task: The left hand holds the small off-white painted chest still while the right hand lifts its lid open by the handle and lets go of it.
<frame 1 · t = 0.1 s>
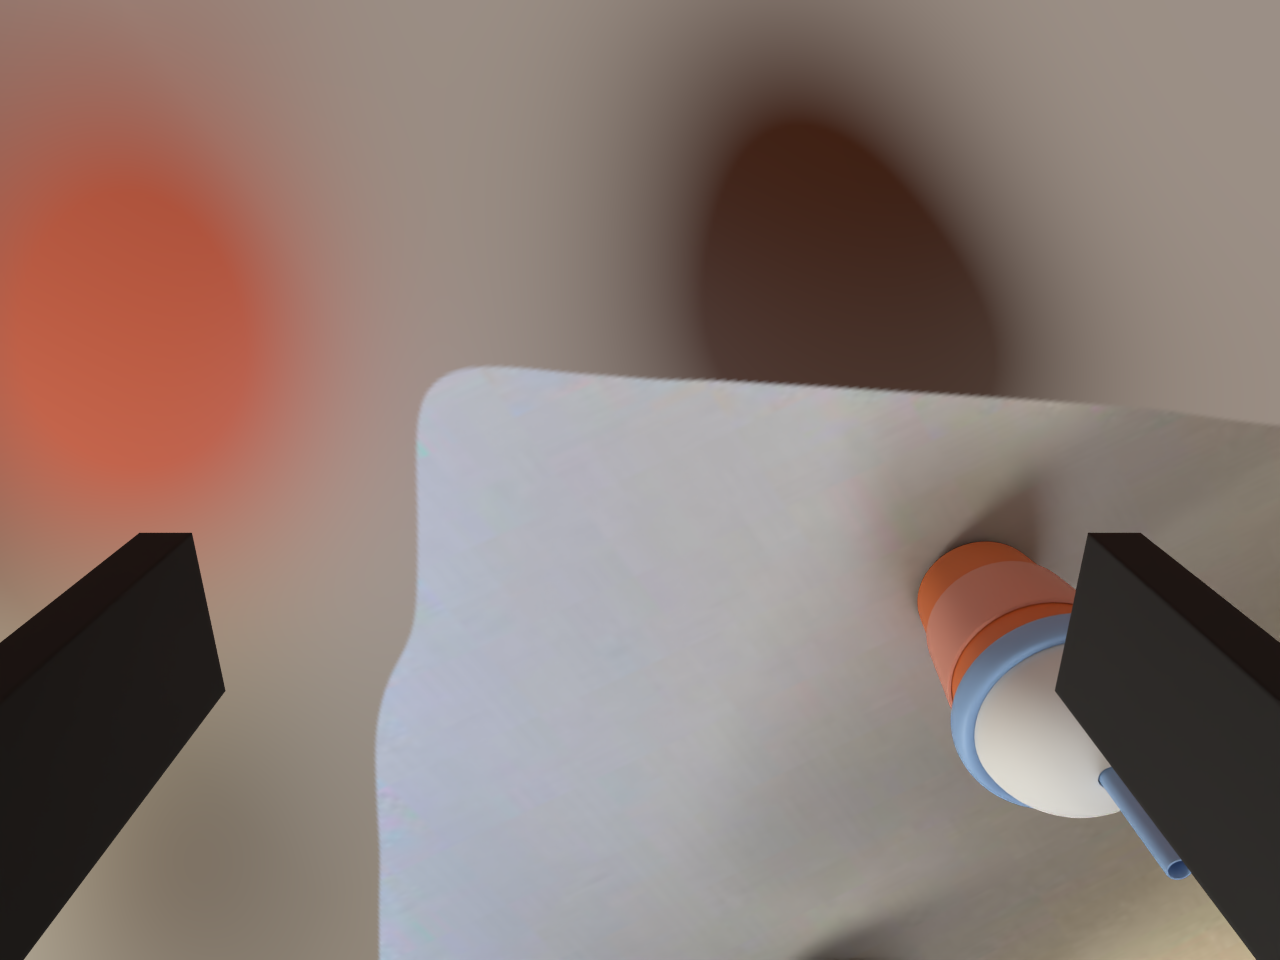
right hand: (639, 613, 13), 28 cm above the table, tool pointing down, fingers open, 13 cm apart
cup with straw: (974, 591, 45), on the table
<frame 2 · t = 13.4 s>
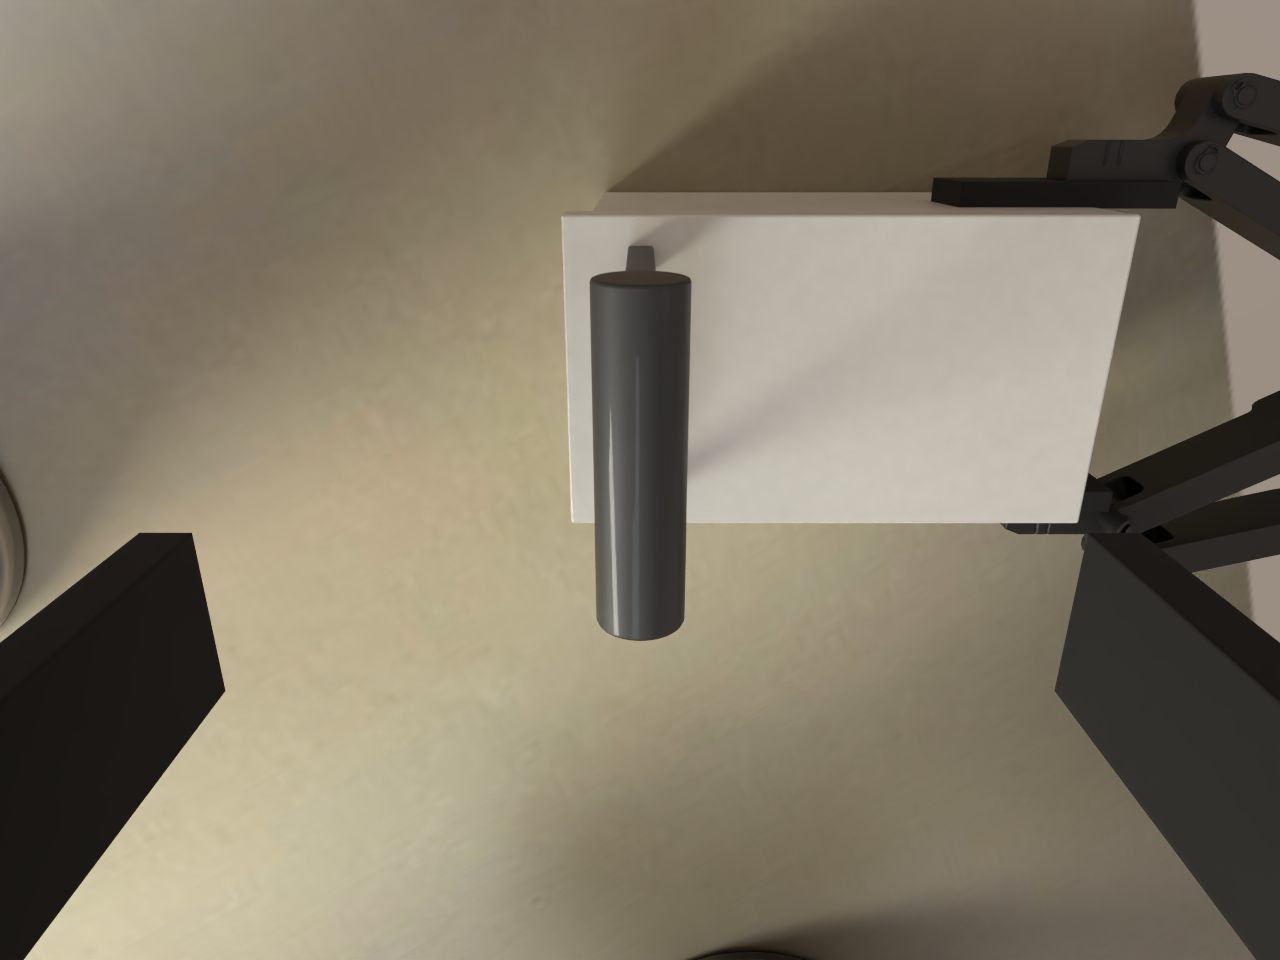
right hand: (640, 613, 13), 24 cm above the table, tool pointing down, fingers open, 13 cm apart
lid: (864, 413, 22), point 14 cm above the table, hinge at 0.0°
chest: (792, 312, 35), on the table, touching left hand
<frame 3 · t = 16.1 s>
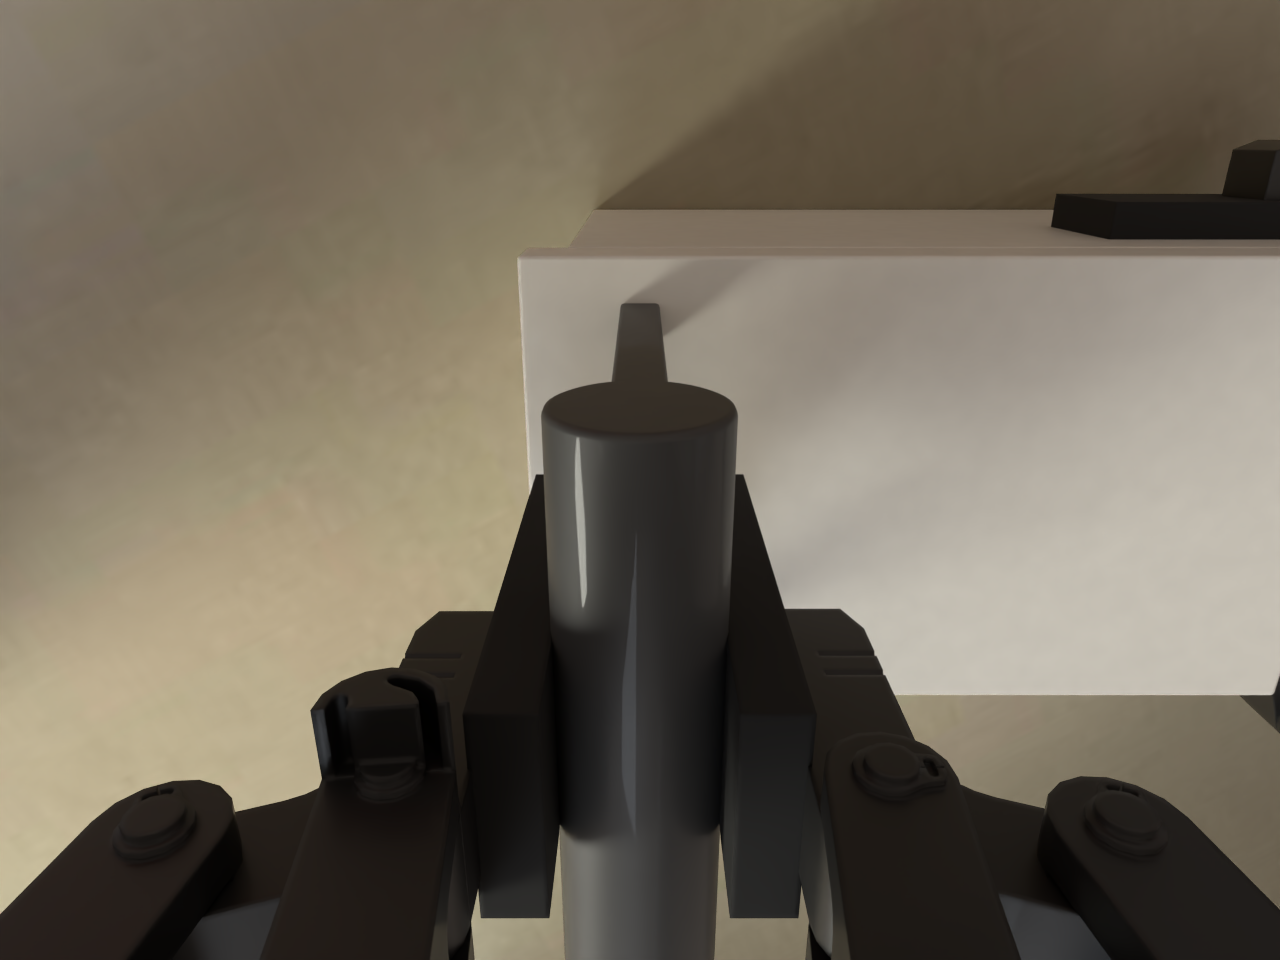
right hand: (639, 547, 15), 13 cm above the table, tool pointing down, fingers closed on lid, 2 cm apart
lid: (999, 578, 14), point 14 cm above the table, hinge at 0.1°, touching right hand
chest: (839, 365, 27), on the table, touching left hand
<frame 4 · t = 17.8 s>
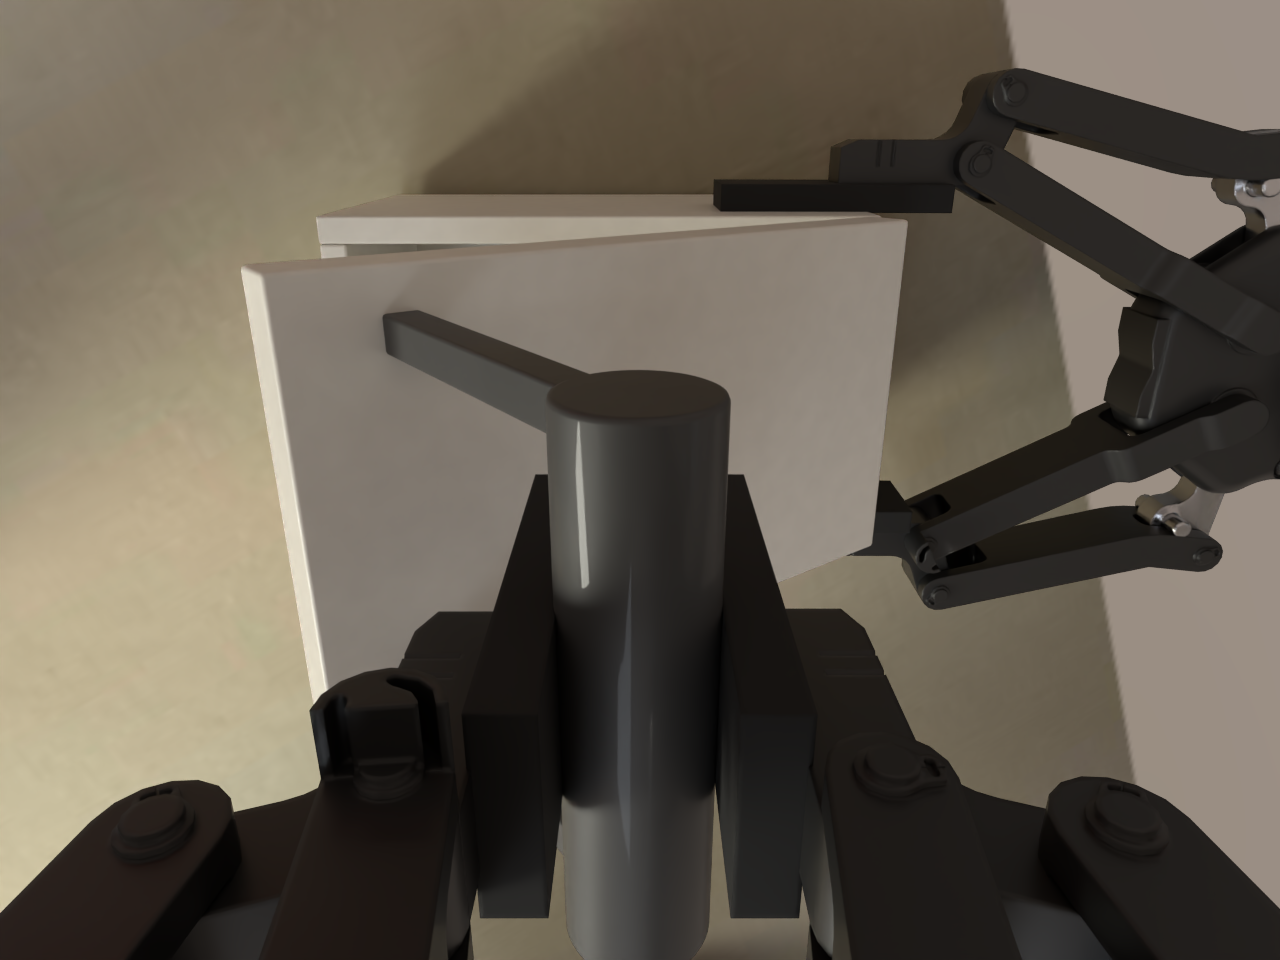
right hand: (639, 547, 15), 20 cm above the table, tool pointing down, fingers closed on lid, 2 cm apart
left hand: (711, 361, 27), fingers closed on chest, 9 cm apart
lid: (767, 499, 17), point 18 cm above the table, hinge at 35.0°, touching right hand
chest: (606, 320, 33), on the table, touching left hand
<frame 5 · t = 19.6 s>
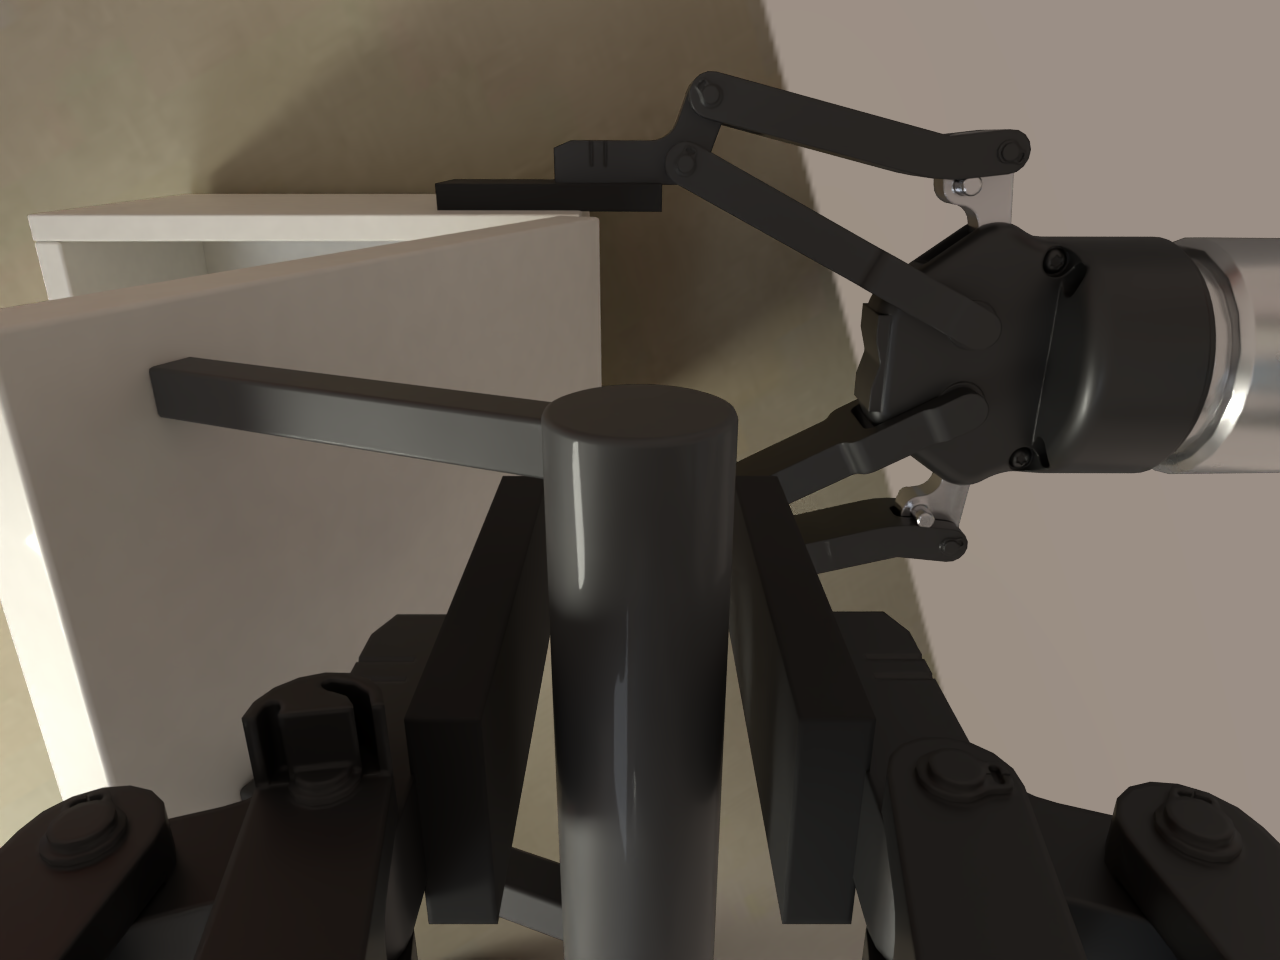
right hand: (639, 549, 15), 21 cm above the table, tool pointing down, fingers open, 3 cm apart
left hand: (459, 356, 28), fingers closed on chest, 9 cm apart
lid: (585, 503, 17), point 19 cm above the table, hinge at 65.9°
chest: (400, 317, 34), on the table, touching left hand
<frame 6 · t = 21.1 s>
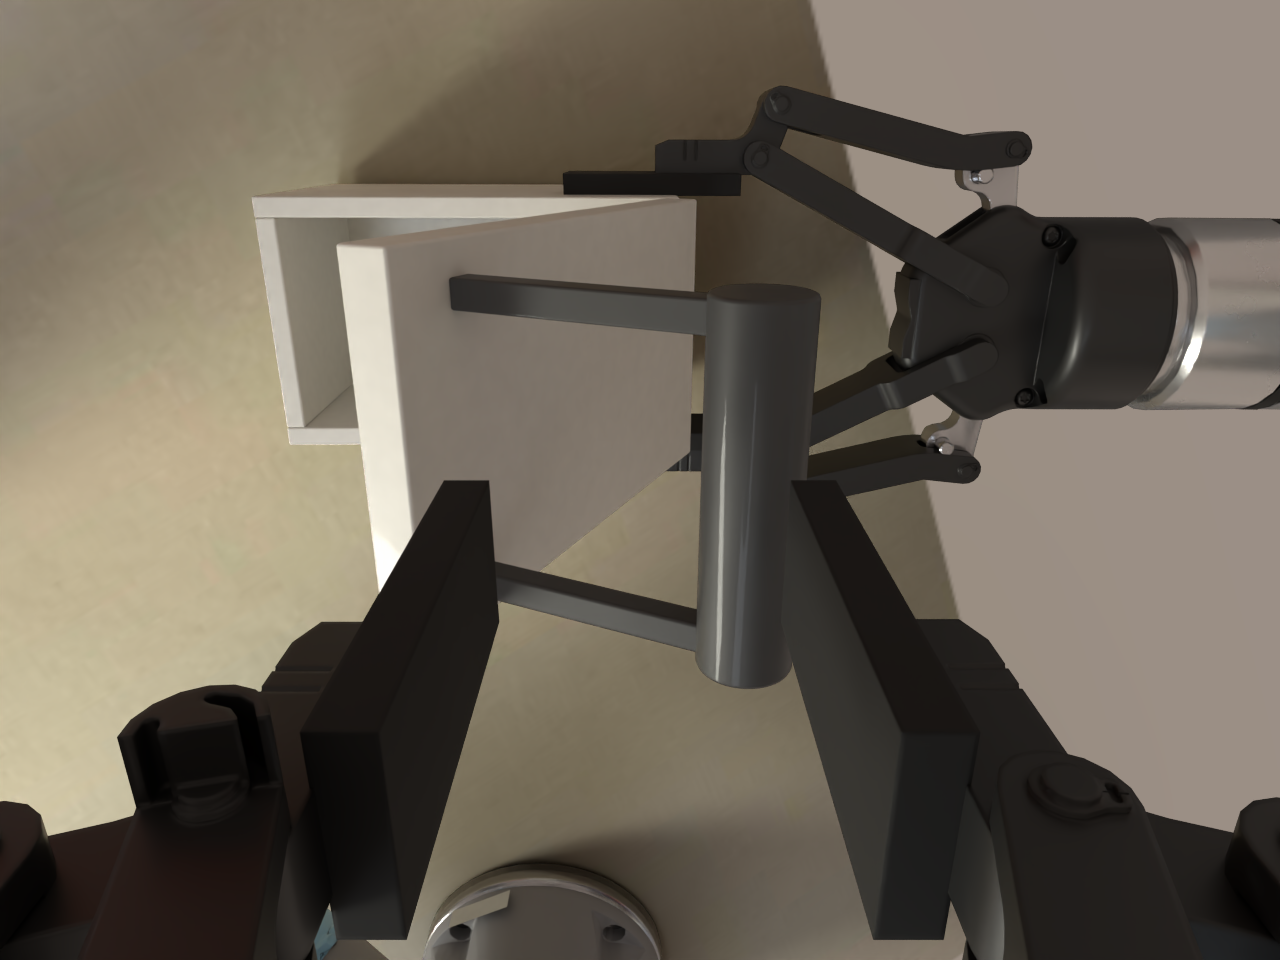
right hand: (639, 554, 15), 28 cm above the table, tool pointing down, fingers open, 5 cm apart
left hand: (570, 313, 35), fingers closed on chest, 9 cm apart
lid: (696, 398, 23), point 19 cm above the table, hinge at 63.3°
chest: (505, 287, 41), on the table, touching left hand
when the left hand's fingers open (7 cm above the table, at t = 23.7 s): chest stays where it is, on the table.
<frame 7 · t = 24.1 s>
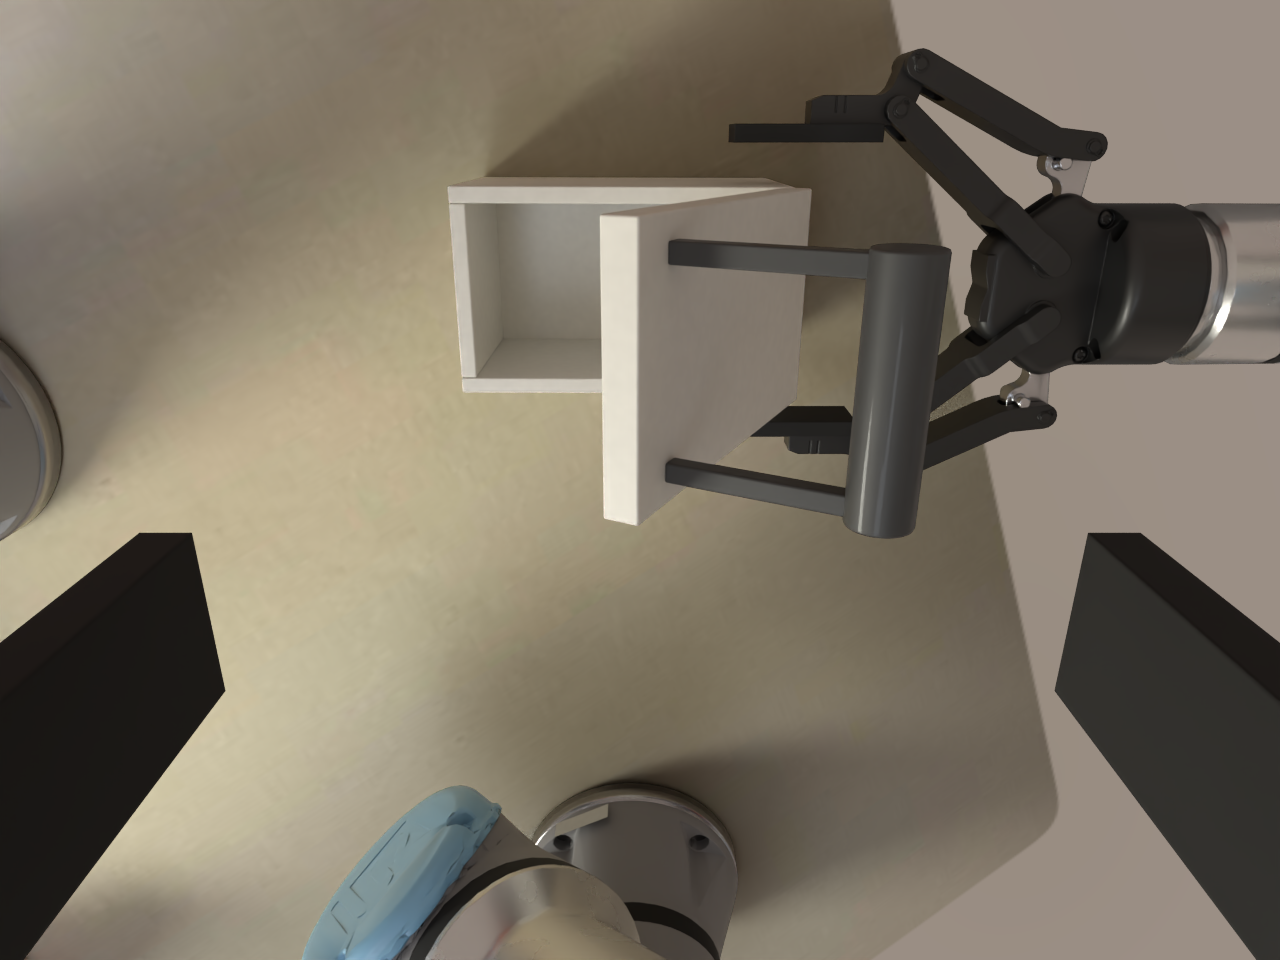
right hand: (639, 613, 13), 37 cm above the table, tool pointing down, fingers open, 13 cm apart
left hand: (725, 285, 41), fingers open, 13 cm apart
lid: (826, 341, 30), point 19 cm above the table, hinge at 62.6°
chest: (625, 266, 47), on the table
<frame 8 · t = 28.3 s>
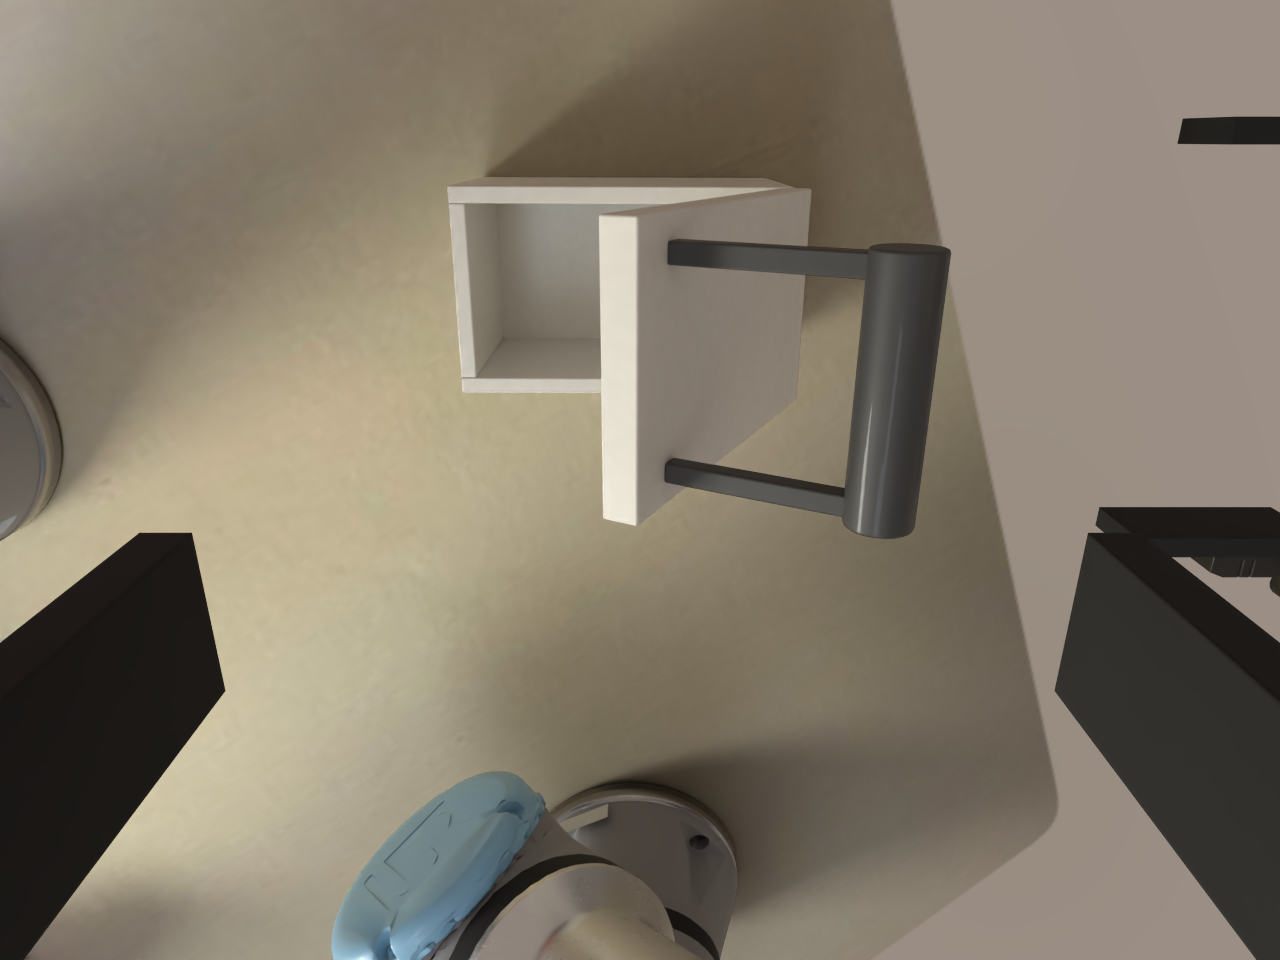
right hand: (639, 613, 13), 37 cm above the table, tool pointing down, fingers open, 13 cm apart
lid: (826, 341, 30), point 19 cm above the table, hinge at 62.6°
chest: (625, 266, 47), on the table
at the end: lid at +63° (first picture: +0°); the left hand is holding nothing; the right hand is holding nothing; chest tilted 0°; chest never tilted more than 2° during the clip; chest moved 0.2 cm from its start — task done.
